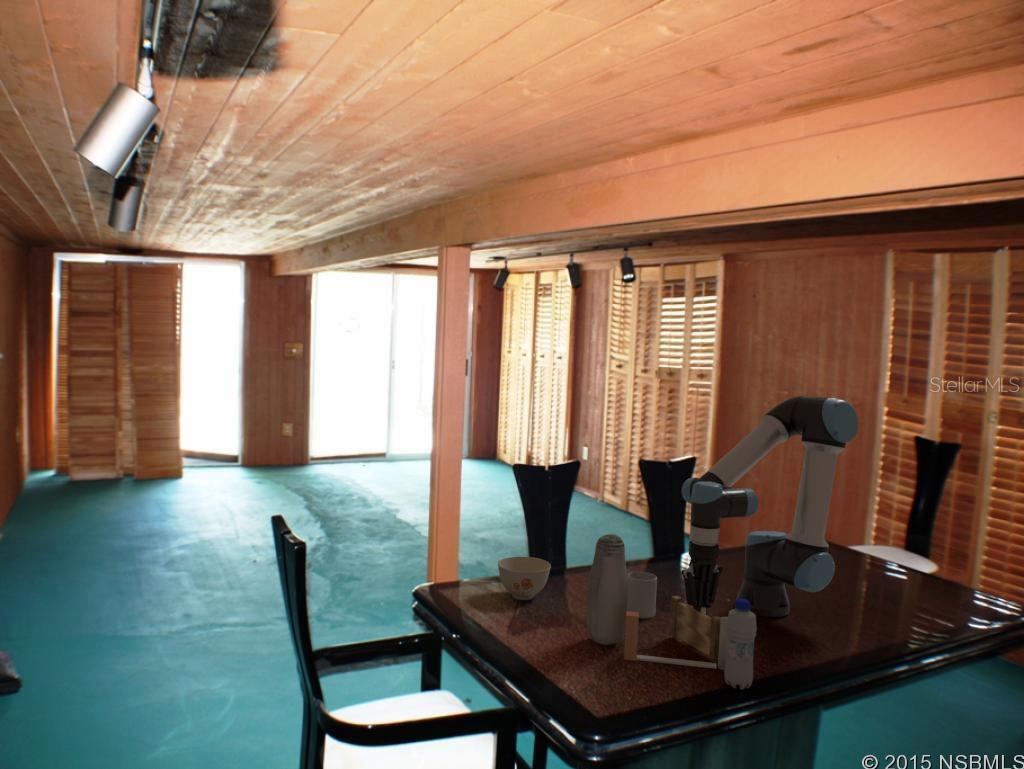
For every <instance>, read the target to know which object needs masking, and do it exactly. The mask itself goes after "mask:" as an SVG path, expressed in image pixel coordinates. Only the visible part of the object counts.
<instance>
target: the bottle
mask: <svg viewBox="0 0 1024 769" xmlns="http://www.w3.org/2000/svg"><path fill="white" fill-rule="evenodd" d="M727 617H728V619H727V623H726V627H727V629H726V631H727V634H728V635H727V652H726V662H725V670H723V671H724V681H725V683H726V685H727V686H731V687H732V688H733V689H736V688H737V685H738V686H739V689H740V690H745V689H749V688H751V686H752V684H753V680H754V655H755V654H754V652H755V651H754V650H755V638H756V636H757V630H758V629H757V615H755V614H754V613H752V612H751V611H750V602H749V601H748V600H746V599H737V598H736V600H735V602H734V609H731V610H729V611H728V614H727Z"/></svg>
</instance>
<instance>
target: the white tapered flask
mask: <svg viewBox="0 0 1024 769" xmlns="http://www.w3.org/2000/svg"><path fill="white" fill-rule="evenodd" d="M592 560H593V561H592V564H591V567H590V570H589V572H588V573H589V574H588V578H587V591H586V619H585V620H586V621H585V623H586V629H587V632H588V633H587V634H588V635H589V637H590V638H591V640H592V641H593V642H595V643H596V644H598V645H602V646H610V645H614V644H616V643H618V642H619V641H620V640H621V639H622V638H623V636H624V634H625V631H626V611H627V603H628V588H629V584H628V570H627V566H626V565H627V564H626V545H625V542H624V540H623V539H622V537H620V536H619V535H617V534H613V533H612V534H611V533H609V534H604V535H601V536H600V537H599V538H598V539H597V541H596V543H595V550H594V555H593V559H592Z"/></svg>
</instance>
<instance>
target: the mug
mask: <svg viewBox="0 0 1024 769" xmlns="http://www.w3.org/2000/svg"><path fill="white" fill-rule="evenodd" d="M627 575H628V584H629V588H628V603H627V611H631V612H639V619H652V618H654V617H655V616H656V609H657V606H656V605H657V603H656V602H657V589H658V588H657V586H658V585H657V584H658V576H656V575H655V574H653V573H650V572H647V571H631V572H629V573H627Z"/></svg>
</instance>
